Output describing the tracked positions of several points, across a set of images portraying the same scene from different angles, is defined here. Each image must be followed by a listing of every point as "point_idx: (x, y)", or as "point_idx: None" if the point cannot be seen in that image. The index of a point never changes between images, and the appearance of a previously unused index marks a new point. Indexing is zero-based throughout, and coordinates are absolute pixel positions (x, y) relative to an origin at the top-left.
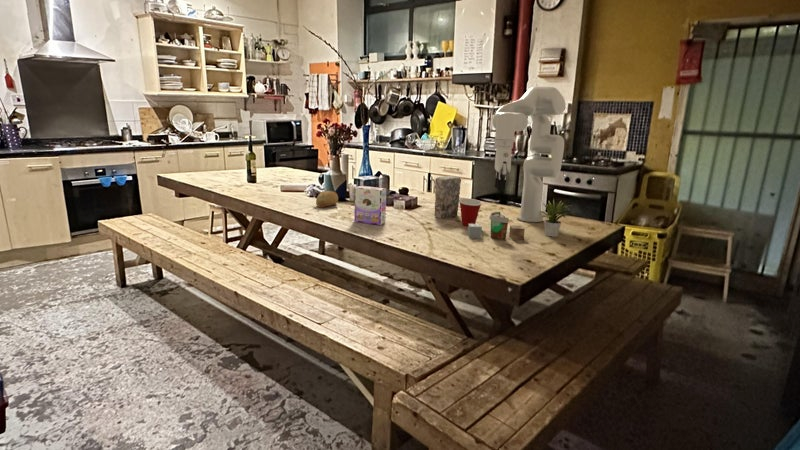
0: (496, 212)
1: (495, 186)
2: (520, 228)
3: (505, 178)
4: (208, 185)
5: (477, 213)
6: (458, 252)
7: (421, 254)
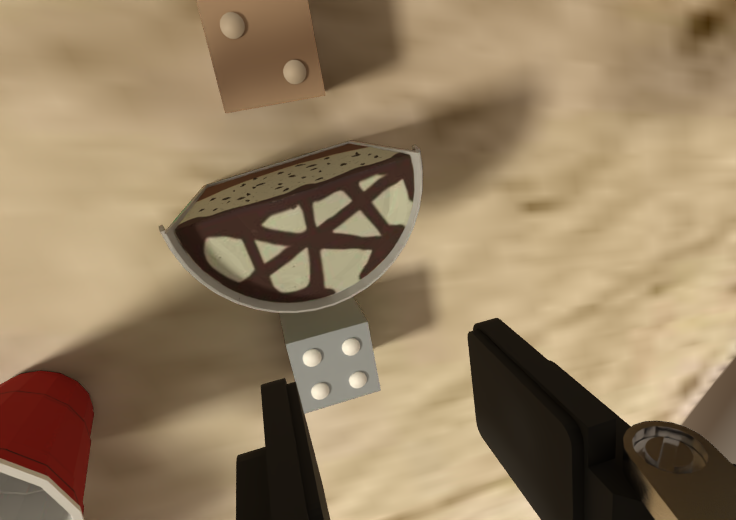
0: (196, 269)
1: (323, 491)
2: (306, 25)
3: (713, 454)
4: None
5: (12, 419)
6: (613, 353)
7: None
